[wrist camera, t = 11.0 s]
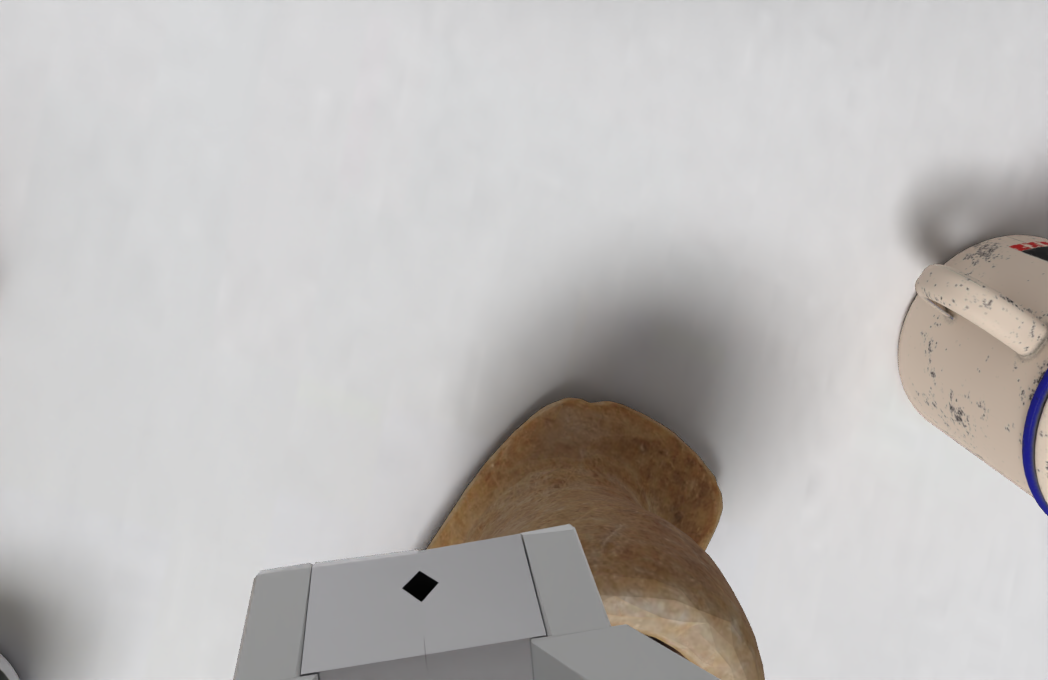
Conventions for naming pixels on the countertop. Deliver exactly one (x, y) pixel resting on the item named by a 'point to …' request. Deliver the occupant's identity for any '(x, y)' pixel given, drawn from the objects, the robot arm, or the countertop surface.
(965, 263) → the teacup with lid
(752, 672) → the stone cup
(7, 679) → the pill bottle
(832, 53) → the countertop surface
